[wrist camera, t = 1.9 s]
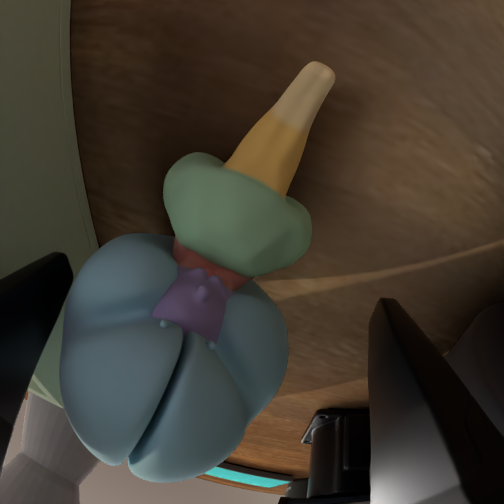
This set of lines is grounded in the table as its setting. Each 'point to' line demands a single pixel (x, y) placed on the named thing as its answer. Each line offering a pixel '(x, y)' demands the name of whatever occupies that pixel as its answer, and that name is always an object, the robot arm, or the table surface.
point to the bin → (40, 158)
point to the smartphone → (249, 476)
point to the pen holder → (297, 489)
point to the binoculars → (482, 362)
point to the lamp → (46, 459)
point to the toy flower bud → (192, 305)
